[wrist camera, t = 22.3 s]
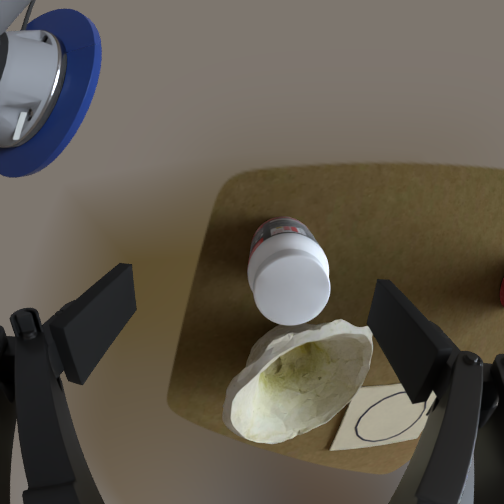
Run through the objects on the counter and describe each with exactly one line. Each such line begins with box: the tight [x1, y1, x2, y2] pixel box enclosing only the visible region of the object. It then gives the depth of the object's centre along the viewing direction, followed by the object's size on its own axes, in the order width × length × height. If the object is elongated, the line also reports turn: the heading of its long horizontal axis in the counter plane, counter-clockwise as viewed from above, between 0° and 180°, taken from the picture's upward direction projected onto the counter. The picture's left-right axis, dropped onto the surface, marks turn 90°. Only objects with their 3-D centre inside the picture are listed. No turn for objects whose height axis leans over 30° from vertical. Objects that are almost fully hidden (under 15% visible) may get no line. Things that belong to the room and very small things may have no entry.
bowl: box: [223, 319, 373, 444], centre depth 25 cm, size 15×14×10 cm
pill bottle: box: [247, 217, 330, 326], centre depth 22 cm, size 6×6×10 cm
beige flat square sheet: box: [329, 383, 436, 451], centre depth 33 cm, size 14×16×1 cm
